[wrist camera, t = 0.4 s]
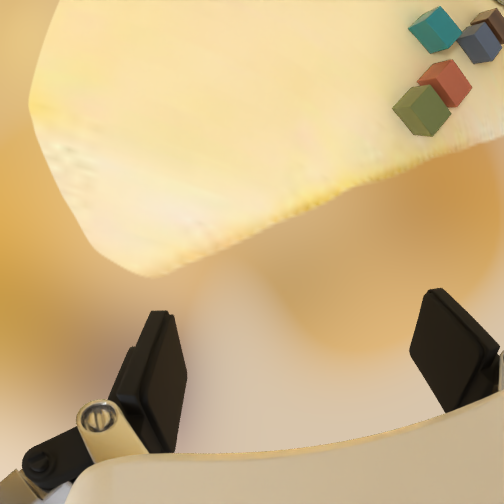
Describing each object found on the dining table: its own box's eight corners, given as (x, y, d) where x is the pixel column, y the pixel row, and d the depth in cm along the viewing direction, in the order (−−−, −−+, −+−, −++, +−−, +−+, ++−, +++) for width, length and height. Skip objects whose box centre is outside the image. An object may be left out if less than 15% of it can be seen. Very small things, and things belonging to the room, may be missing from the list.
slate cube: (466, 27, 28) (484, 21, 23) (483, 50, 29) (502, 47, 25) (455, 39, 29) (474, 34, 25) (473, 64, 31) (492, 61, 26)
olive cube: (411, 87, 33) (430, 84, 28) (431, 113, 34) (451, 113, 30) (391, 108, 34) (409, 106, 30) (413, 135, 36) (432, 136, 31)
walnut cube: (479, 13, 26) (496, 7, 22) (495, 35, 28) (513, 32, 23) (469, 23, 28) (487, 18, 23) (486, 46, 29) (505, 43, 24)
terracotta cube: (433, 63, 31) (452, 59, 27) (452, 89, 33) (472, 87, 28) (416, 81, 33) (435, 77, 28) (436, 107, 34) (457, 107, 29)
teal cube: (407, 28, 29) (424, 19, 25) (423, 14, 28) (440, 5, 23) (429, 54, 31) (448, 48, 26) (444, 38, 29) (463, 32, 25)
